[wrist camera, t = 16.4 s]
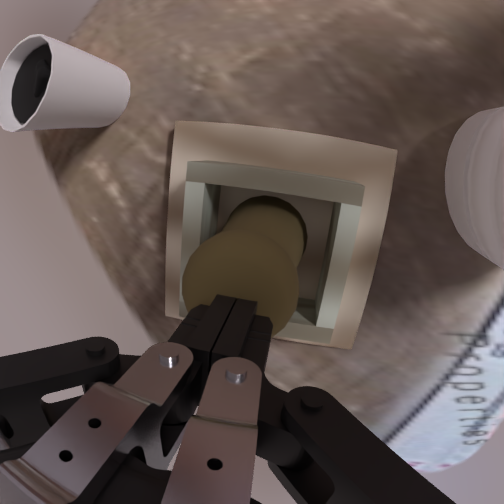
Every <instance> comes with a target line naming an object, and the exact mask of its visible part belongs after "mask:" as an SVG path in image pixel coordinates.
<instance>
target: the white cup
mask: <svg viewBox="0 0 504 504" xmlns="http://www.w3.org/2000/svg"><path fill="white" fill-rule="evenodd" d="M129 97H130V81H129V79H128V77H127V74H126V73H125V72H124V71H123V70H121V69H120V68H119V67H117V66H115V65H113V64H111V63H108V62H106V61H104V60H102V59H100V58H98V57H96V56H93V55H91V54H89V53H87V52H84V51H82V50H80V49H77V48H75V47H73V46H70V45H68V44H66V43H63V42H61V41H58V40H56V39H53V38H51V37H48V36H45V35H43V34H35V35H30V36H28V37H27V38H25V39H24V40H22V41H21V42H19V43H18V44H17V45H16V47H15V48H14V49H13V50H12V51H11V53H10V54H9V55H8V57H7V58H6V60H5V62H4V64H3V66H2V68H1V70H0V125H1V127H2V128H3V129H4V130H8V131H11V132H19V131H30V130H45V129H64V128H100V127H104V126H108V125H110V124H111V123H113V122H114V121H115V120H117V119H118V118H119V117H120V115H121V114H122V113H123V111H124V110H125V108H126V106H127V103H128V100H129Z"/></svg>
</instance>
